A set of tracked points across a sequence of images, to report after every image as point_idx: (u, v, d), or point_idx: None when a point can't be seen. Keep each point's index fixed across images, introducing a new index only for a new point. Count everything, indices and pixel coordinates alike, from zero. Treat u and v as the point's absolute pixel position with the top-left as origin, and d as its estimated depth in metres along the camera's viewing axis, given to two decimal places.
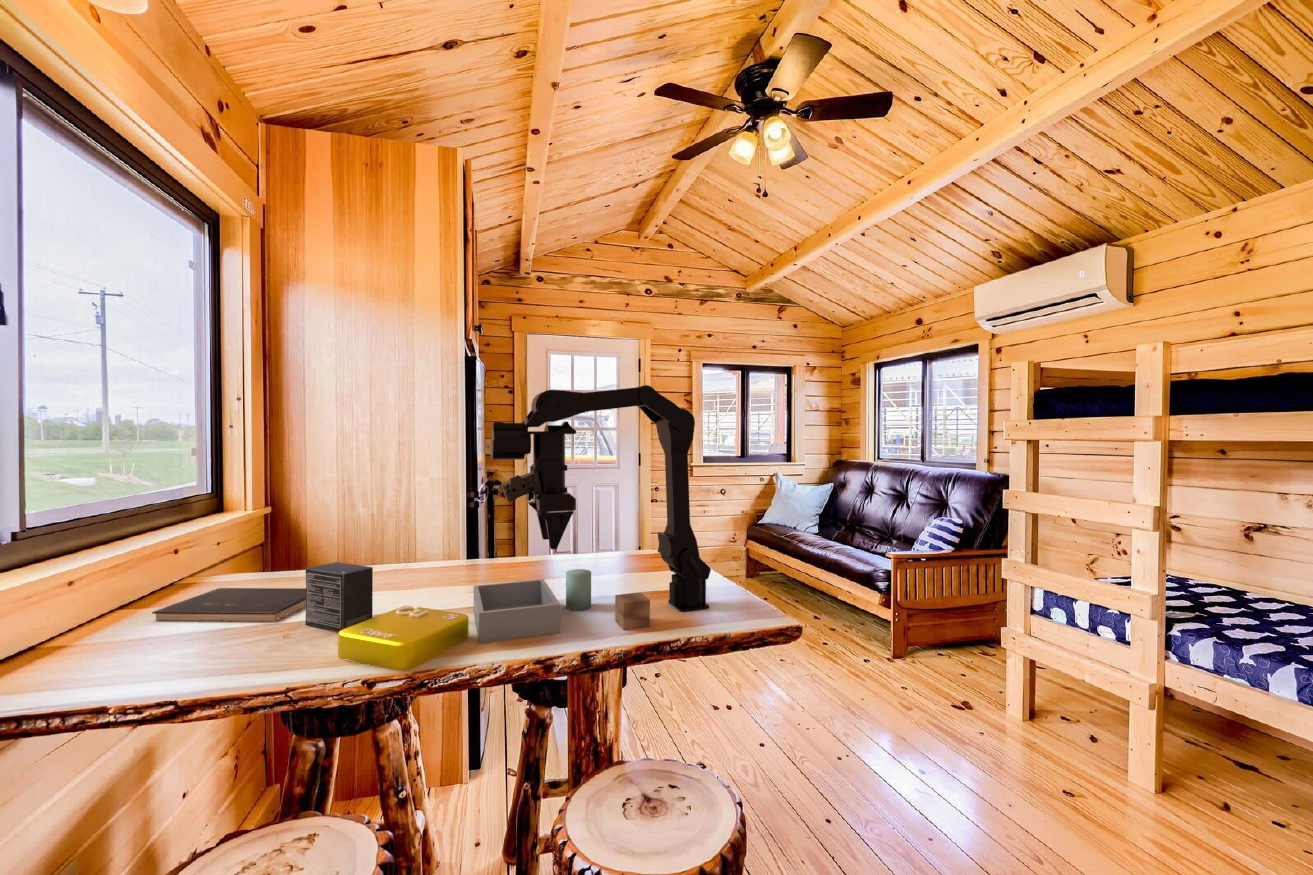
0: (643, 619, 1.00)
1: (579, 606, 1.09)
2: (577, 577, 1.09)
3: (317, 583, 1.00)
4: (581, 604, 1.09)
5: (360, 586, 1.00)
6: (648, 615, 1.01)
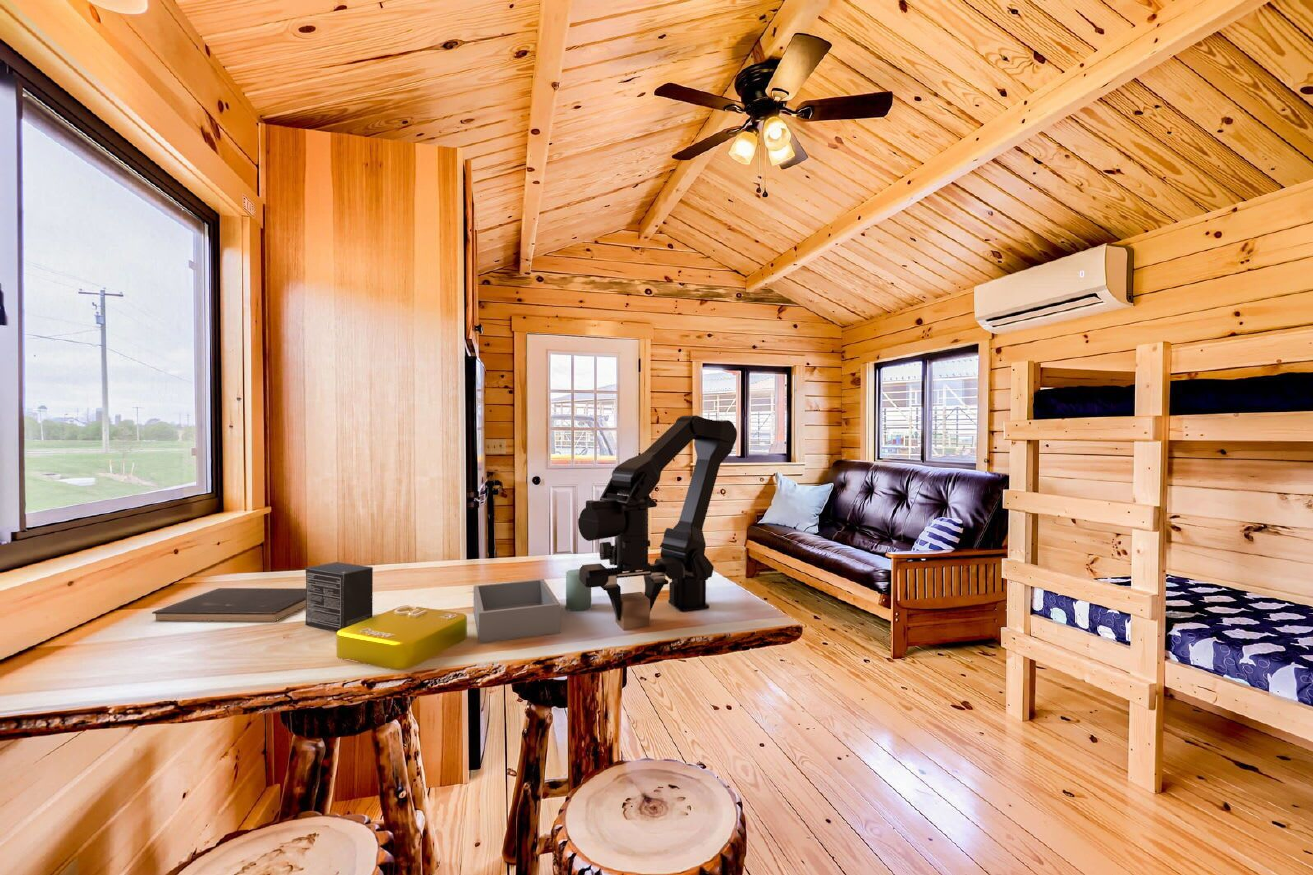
0: (643, 619, 1.00)
1: (579, 606, 1.09)
2: (577, 577, 1.09)
3: (317, 583, 1.00)
4: (581, 604, 1.09)
5: (360, 586, 1.00)
6: (648, 614, 1.01)
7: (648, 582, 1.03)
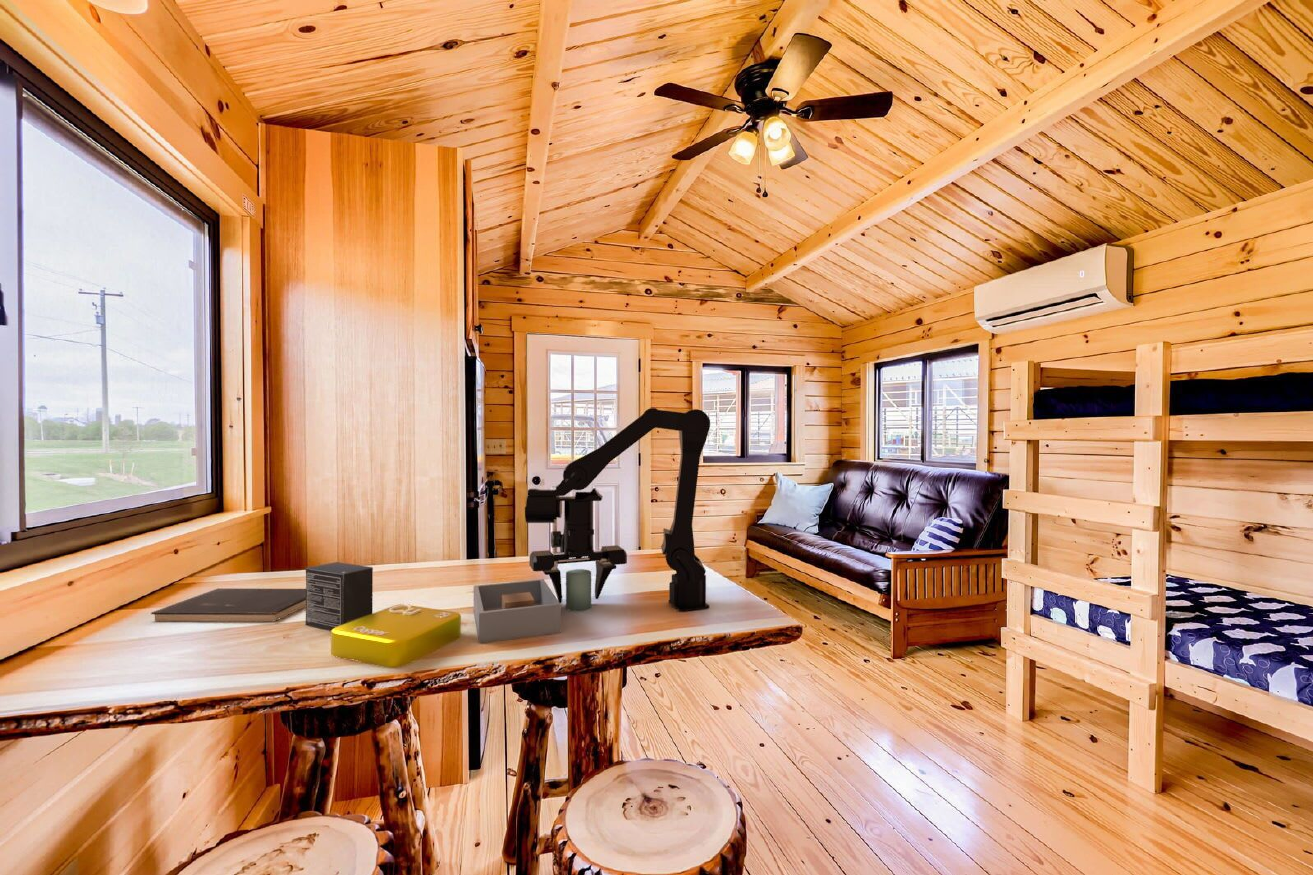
0: None
1: (579, 606, 1.09)
2: (577, 577, 1.09)
3: (317, 583, 1.00)
4: (581, 604, 1.09)
5: (360, 586, 1.00)
6: None
7: (598, 567, 1.13)
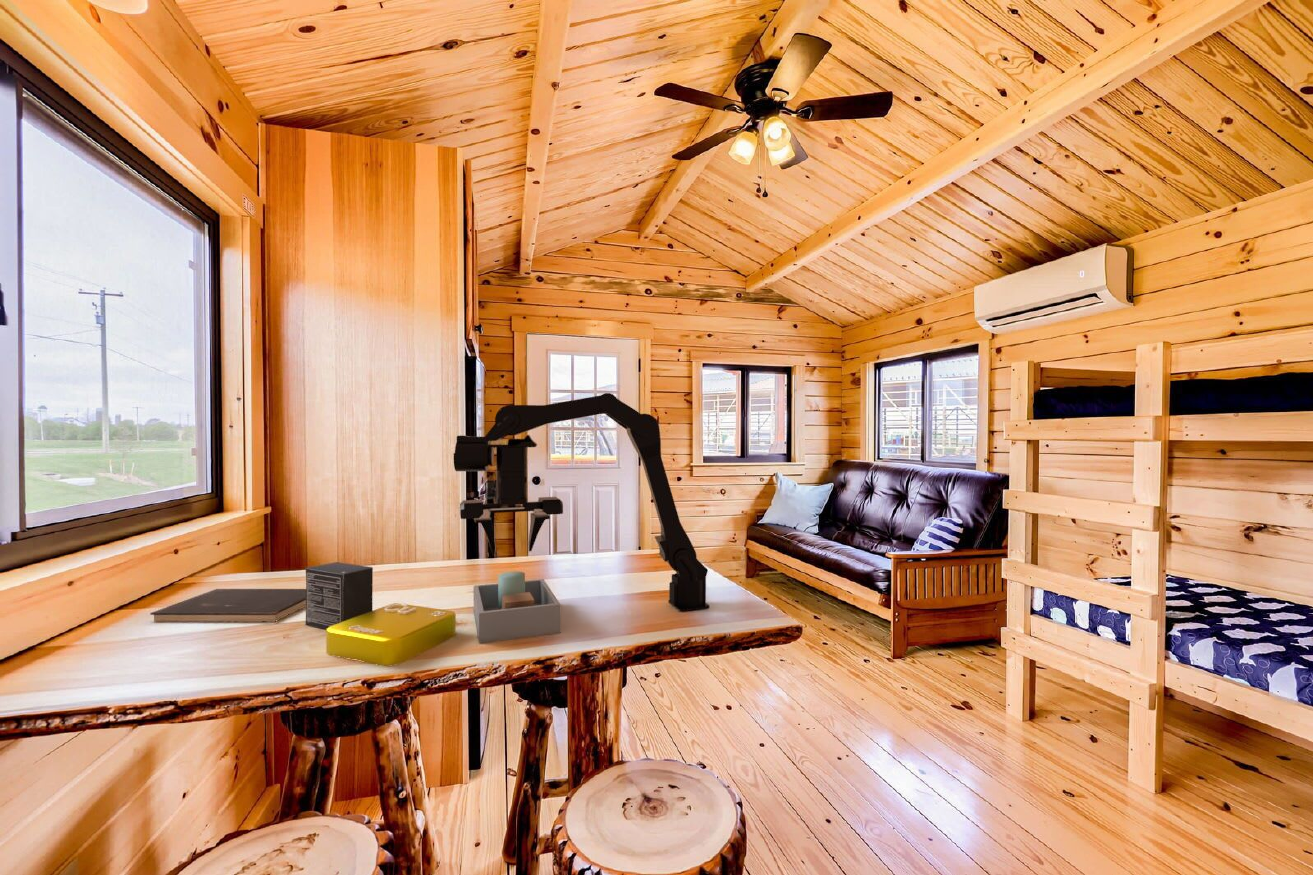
0: None
1: None
2: (508, 580, 1.04)
3: (317, 583, 1.00)
4: None
5: (360, 586, 1.00)
6: None
7: (532, 518, 1.08)
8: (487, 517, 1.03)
